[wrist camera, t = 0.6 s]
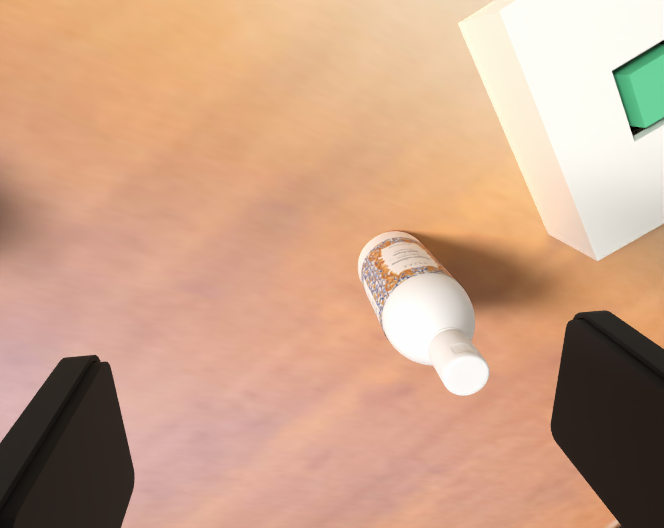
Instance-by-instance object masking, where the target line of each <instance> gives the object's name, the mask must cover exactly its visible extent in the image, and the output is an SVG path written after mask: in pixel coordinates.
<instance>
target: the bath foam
mask: <svg viewBox="0 0 664 528" xmlns="http://www.w3.org/2000/svg"><path fill="white" fill-rule="evenodd" d="M358 273H359V278H360V280H361V283H362V285H363V287H364V290H365V292H366V294H367V296H368V298H369V300H370V303H371V305H372V307H373V309H374V311H375V314H376V316H377V318H378V320H379V322H380V324H381V327H382V329H383V331H384V333H385V335H386V337H387V339H388V340H389V341H390V343H391V344H392V345H393V346H394V347H395V348H396V349H397V350H398V351H399V352H400V353H401V354H402V355H404V356H405V357H407V358H408V359H410V360H412V361H414V362H417V363H420V364H424V365H432V366H434V368H435V369H436V371H437V373H438V375H439V376H440V378H441V380H442V382H443V383H444V385H445V386H446V388H447V389H448V390H449V391H450V392H452V393H454V394H456V395H461V396H465V395H470V394H473V393H475V392H477V391H479V390H480V389H481V388H482V387H483V386H484V385H485V384H486V382H487V380H488V378H489V366H488V364H487V362H486V360H485V359H484V358H483V356H482V355H481V354H480V353H479V351H478V350H477V349H476V347H475V346H474V345H473V344H472V342H471V341H472V338H473V334H474V329H475V315H474V310H473V306H472V303H471V301H470V299H469V297H468V295H467V293H466V291H465V290H464V288H463V287H462V286H461V285H460V284H459V283H458V281H457V280H456V279H455V278H454V277H453V276H452V275H451V274H450V273H449V272H448V271H447V270H446V269H445V268H444V267H443V266H442V264H441V263H440V262H439V261H438V260H437V259H436V258H435V257H434V256H433V255H432V254H431V253H430V252H429V251H428V250H427V249H426V247H425V246H423V245H422V244H421V242H420V241H419V240H417V239H416V238H415V237H413V236H412V235H410V234H408V233H405V232H400V231H390V232H385V233H382V234H380V235H378V236H376V237H374V238H373V239H371V240H370V241H369V242H368V243H367V244H366V245H365V247H364V248H363V250H362V252H361V254H360V256H359V260H358Z"/></svg>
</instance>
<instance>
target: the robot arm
mask: <svg viewBox="0 0 664 528" xmlns="http://www.w3.org/2000/svg"><path fill="white" fill-rule="evenodd" d="M551 431H552V435H553V437H554V440H555V441H556V443H557V444H558V445H559V447H560V448H561V449H562V450H563V452H564V453H565V454H566V456H567V457H568V458H569V459H570V461H571V462H572V463H573V464H574V466H575V467H576V468H577V470H578V471H579V472H580V473H581V475H582V476H583V477H584V478H585V480H586V481H587V482H588V484H589V485H590V486H591V487H592V489H593V490H594V491H595V492H596V494H597V495H598V496H599V498H600V499H601V500H602V501H603V503H604V504H605V505H606V506H607V508H608V509H609V510H610V512H611V513H612V514H613V515H614V517H615V518H616V519H617V520H618V522H619V523H620V524H621V526H622V527H623V528H664V349H663V348H661V347H660V346H658V345H657V344H655V343H654V342H653V341H651V340H650V339H648V338H647V337H645V336H644V335H642V334H641V333H640V332H638V331H637V330H635V329H634V328H632V327H631V326H629V325H628V324H627V323H625V322H624V321H622V320H621V319H619V318H618V317H616V316H615V315H614V314H612V313H611V312H609V311H593V312H581V313H578V314H576V315H575V317H574V318H573V320H571V321H569V322H568V324H567V326H566V331H565V338H564V344H563V350H562V356H561V363H560V369H559V375H558V382H557V388H556V394H555V400H554V407H553V413H552V419H551ZM133 488H134V468H133V464H132V459H131V455H130V451H129V446H128V442H127V437H126V433H125V429H124V424H123V420H122V415H121V411H120V406H119V402H118V398H117V393H116V389H115V384H114V380H113V375H112V371H111V367H110V365H109V363H108V362H100V359H99V358H98V356H96V355H90V356H78V357H67V358H63V359H62V360H61V361H60V362H59V363H58V365H57V366H56V367H55V369H54V370H53V372H52V373H51V374H50V376H49V377H48V378H47V380H46V381H45V383H44V384H43V385H42V387H41V388H40V389H39V391H38V392H37V393H36V395H35V396H34V398H33V399H32V400H31V402H30V403H29V404H28V406H27V407H26V409H25V410H24V411H23V413H22V414H21V415H20V417H19V418H18V420H17V421H16V422H15V424H14V425H13V426H12V428H11V429H10V431H9V432H8V433H7V435H6V436H5V437H4V439H3V440H2V442H1V443H0V528H121V525H122V522H123V519H124V516H125V513H126V510H127V507H128V504H129V501H130V498H131V495H132V492H133Z"/></svg>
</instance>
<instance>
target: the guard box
mask: <svg viewBox="0 0 664 528" xmlns="http://www.w3.org/2000/svg"><path fill="white" fill-rule="evenodd" d="M458 25H459V27H460V29H461V32H462V34H463V36H464V39H465V41H466V43H467V46H468V48H469V50H470V53H471V55H472V58H473V60H474V62H475V65H476V67H477V69H478V72H479V74H480V76H481V79H482V81H483V83H484V86H485V88H486V90H487V93H488V95H489V97H490V100H491V102H492V104H493V107H494V109H495V111H496V114H497V116H498V118H499V121H500V123H501V125H502V128H503V130H504V132H505V135H506V137H507V139H508V142H509V144H510V146H511V149H512V151H513V153H514V156H515V158H516V160H517V163H518V165H519V167H520V170H521V172H522V174H523V177H524V179H525V181H526V184H527V186H528V188H529V191H530V193H531V195H532V198H533V200H534V202H535V205H536V207H537V209H538V212H539V214H540V216H541V219H542V221H543V224H544V226H545V228H546V231H547V233H548V234H549V235H551V236H553V237H554V238H556V239H558V240H560V241H562V242H563V243H565V244H567V245H569V246H571V247H573V248H574V249H576V250H578V251H580V252H582V253H583V254H585V255H587V256H589V257H591V258H593V259H594V260H596V261H599V260H600V259H602V258H604V257H606V256H607V255H609V254H611V253H613V252H615V251H616V250H618V249H620V248H622V247H623V246H625V245H627V244H629V243H630V242H632V241H634V240H636V239H637V238H639V237H641V236H643V235H644V234H646V233H648V232H650V231H651V230H653V229H655V228H657V227H659V226H660V225H662V224H664V118H663V119H662V120H660V121H658V122H656V123H655V124H653V125H651V126H650V127H648V128H646V129H645V130H643V131H641V132H639V133H638V134H636V135H634V136H633V135H632V132H631V129H630V126H629V123H628V120H627V117H626V114H625V110H624V107H623V104H622V101H621V98H620V95H619V92H618V89H617V86H616V83H615V79H614V76H613V73H612V71H613V70H614V69H616V68H618V67H619V66H621V65H623V64H624V63H626V62H628V61H629V60H631V59H633V58H634V57H636V56H638V55H639V54H641V53H642V52H644V51H646V50H647V49H649V48H651V47H652V46H654V45H656V44H657V43H659V42H661V41H662V40H664V0H494V1H493V2H491V3H490V4H488V5H486V6H485V7H483V8H482V9H480V10H478V11H477V12H475V13H474V14H472V15H470V16H469V17H467V18H466V19H464V20H462V21H461V22H459V23H458Z"/></svg>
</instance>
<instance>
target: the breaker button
mask: <svg viewBox="0 0 664 528" xmlns="http://www.w3.org/2000/svg"><path fill="white" fill-rule="evenodd" d="M612 73H613V76H614V79H615V83H616V86H617V89H618V92H619V95H620V98H621V101H622V104H623V107H624V110H625V114H626V117H627V120H628V123H629V126H634V127H642V128H646V127H648V126H650V125H651V124H653V123H655V122H657V121H658V120H660V119H662V118H663V117H664V44H660V45H654V46H652V47H651V48H649V49H647V50H646V51H644V52H642V53H641V54H639V55H638V56H636V57H634V58H633V59H631V60H629V61H628V62H626V63H624V64H623V65H621V66H619V67H618V68H616V69H614V70H613V71H612Z"/></svg>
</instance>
